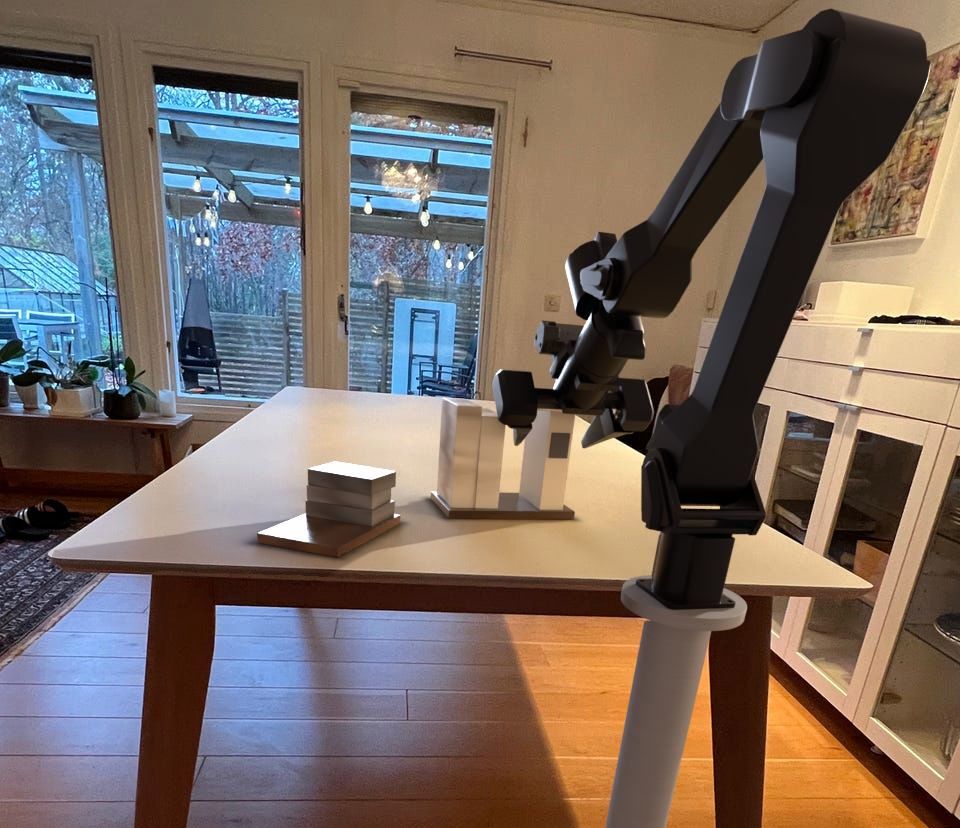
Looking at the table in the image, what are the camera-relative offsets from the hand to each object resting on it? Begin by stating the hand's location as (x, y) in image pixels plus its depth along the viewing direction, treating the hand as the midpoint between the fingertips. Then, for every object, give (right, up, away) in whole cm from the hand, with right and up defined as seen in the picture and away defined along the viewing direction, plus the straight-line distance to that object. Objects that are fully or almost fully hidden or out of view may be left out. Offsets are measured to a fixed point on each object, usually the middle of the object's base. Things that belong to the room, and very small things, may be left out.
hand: (549, 444), depth 90 cm
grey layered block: (-25, -13, -13) cm, 31 cm away
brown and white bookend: (-6, -8, +3) cm, 10 cm away
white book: (-1, -7, +4) cm, 8 cm away
